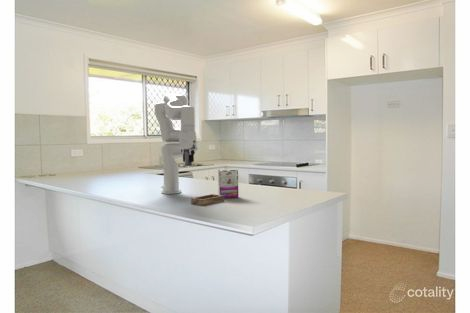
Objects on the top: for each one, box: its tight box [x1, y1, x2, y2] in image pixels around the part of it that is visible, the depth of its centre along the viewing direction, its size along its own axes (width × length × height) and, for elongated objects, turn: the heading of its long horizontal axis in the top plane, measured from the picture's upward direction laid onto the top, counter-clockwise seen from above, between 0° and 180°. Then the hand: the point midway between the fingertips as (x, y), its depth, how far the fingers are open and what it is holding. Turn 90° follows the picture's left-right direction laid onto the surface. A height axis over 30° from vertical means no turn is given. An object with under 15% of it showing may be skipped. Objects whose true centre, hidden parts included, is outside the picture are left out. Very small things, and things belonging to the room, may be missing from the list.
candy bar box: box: [217, 168, 239, 199], centre depth 201 cm, size 11×5×16 cm, turn 105°
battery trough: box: [190, 193, 225, 207], centre depth 187 cm, size 9×16×3 cm, turn 140°
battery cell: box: [184, 149, 193, 167], centre depth 190 cm, size 4×4×10 cm
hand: (188, 161), depth 190 cm, fingers closed on battery cell, 4 cm apart
